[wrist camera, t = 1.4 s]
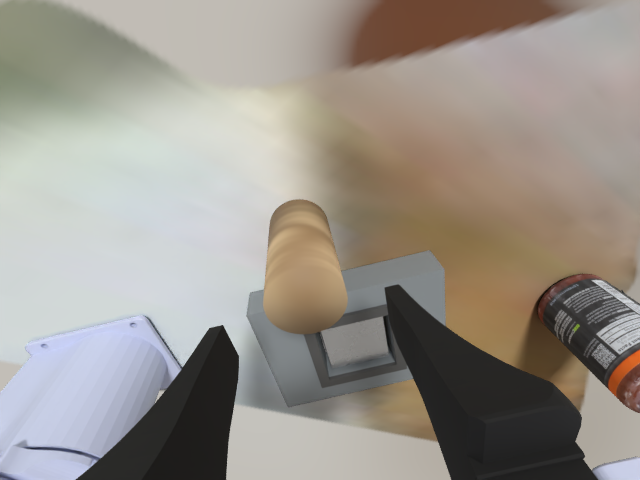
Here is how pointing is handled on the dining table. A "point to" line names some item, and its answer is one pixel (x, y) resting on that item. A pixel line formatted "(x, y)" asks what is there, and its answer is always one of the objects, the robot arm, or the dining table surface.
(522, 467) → the robot arm
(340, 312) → the peg
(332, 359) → the pad
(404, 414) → the dining table surface
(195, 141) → the dining table surface
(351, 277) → the board
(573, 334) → the supplement bottle
